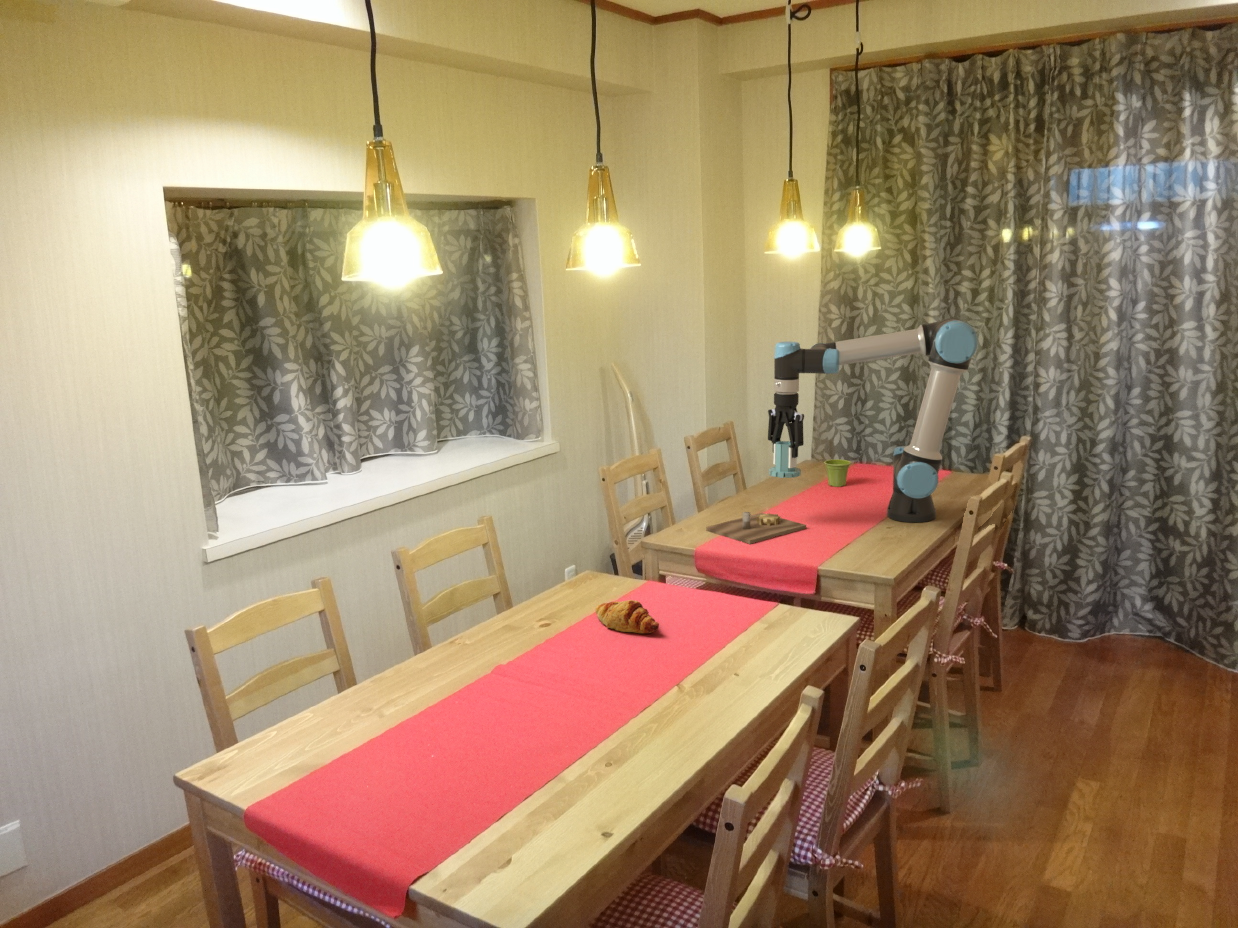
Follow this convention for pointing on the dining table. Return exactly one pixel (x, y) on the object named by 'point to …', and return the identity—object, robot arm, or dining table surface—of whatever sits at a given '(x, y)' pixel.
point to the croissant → (626, 617)
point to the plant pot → (837, 472)
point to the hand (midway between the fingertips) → (784, 465)
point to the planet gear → (783, 462)
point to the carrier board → (755, 527)
